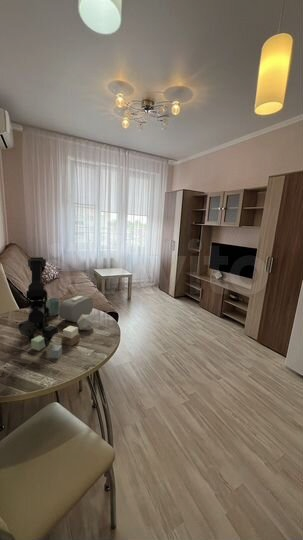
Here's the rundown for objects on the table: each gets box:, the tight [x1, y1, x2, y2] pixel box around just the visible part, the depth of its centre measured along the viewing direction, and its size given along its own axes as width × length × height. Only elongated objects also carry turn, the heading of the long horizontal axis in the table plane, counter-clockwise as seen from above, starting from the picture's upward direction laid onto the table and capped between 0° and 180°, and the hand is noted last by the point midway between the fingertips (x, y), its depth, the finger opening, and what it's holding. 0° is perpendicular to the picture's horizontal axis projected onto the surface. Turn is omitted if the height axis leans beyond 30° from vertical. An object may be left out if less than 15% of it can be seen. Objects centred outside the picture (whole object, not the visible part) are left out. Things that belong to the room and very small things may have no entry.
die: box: [76, 314, 95, 331], centre depth 125 cm, size 8×9×10 cm
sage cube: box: [31, 335, 46, 352], centre depth 105 cm, size 4×4×4 cm
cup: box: [46, 297, 61, 317], centre depth 141 cm, size 8×8×10 cm
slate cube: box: [48, 344, 63, 359], centre depth 99 cm, size 4×4×4 cm
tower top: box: [62, 325, 79, 339], centre depth 110 cm, size 5×5×4 cm
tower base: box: [61, 332, 81, 347], centre depth 111 cm, size 6×6×4 cm
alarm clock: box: [58, 295, 94, 323], centre depth 138 cm, size 21×10×13 cm, turn 159°
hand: (39, 344), depth 105 cm, fingers open, 9 cm apart
